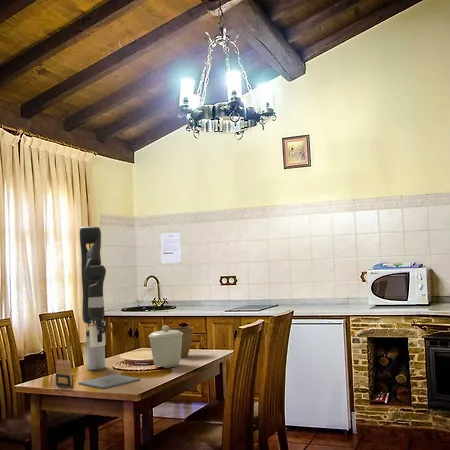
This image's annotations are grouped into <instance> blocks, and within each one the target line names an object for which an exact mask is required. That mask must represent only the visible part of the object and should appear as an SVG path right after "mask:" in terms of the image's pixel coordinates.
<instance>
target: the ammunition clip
mask: <svg viewBox="0 0 450 450" xmlns="http://www.w3.org/2000/svg"><path fill="white" fill-rule="evenodd" d="M71 363H72V362H71V359H69V360H68V359H63V358H62V359H61V358H56V368H55V370H56V373H55V386H61V387H65V388H66V387H68V388H71V387H74V379H73V378H74V377H73V371H72V364H71Z"/></svg>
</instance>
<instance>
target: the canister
mask: <svg viewBox="0 0 450 450" xmlns="http://www.w3.org/2000/svg"><path fill="white" fill-rule="evenodd" d="M161 329H162V330H157V331H153V332H152V333H150V334H148V338H149V342H150V349H151V355H152V360H153V364H154V366H155V367H156V366H160V367H164V368H163V369H169V368H175V367H178V366H179V365H180V363H181V358H182V357H181V345H182V335H183V333H181V332H180V331H177V330H168V329H170V327H169V325H166V324H165V325H162V327H161Z"/></svg>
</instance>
